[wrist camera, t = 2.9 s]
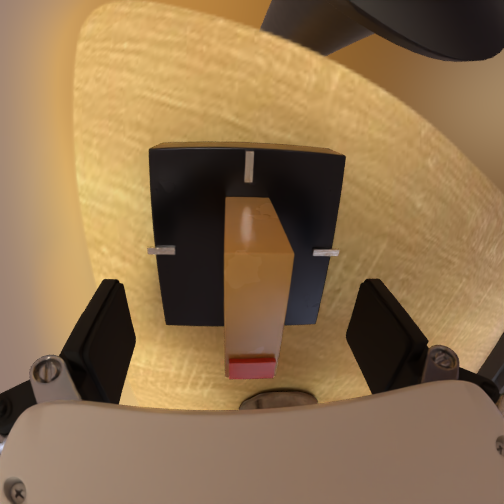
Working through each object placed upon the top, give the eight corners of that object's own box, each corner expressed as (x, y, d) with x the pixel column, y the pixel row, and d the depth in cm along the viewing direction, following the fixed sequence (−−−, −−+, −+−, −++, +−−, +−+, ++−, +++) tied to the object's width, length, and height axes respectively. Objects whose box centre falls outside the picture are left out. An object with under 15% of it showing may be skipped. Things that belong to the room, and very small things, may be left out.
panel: (154, 142, 14) (139, 149, 11) (335, 149, 15) (354, 157, 12) (166, 300, 18) (159, 327, 16) (311, 300, 19) (322, 325, 17)
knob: (225, 196, 13) (224, 257, 8) (269, 197, 13) (296, 257, 8) (224, 296, 15) (225, 382, 10) (261, 296, 16) (276, 381, 10)
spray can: (293, 430, 28) (321, 582, 10) (224, 423, 26) (234, 595, 8) (333, 390, 25) (386, 574, 7) (255, 380, 23) (283, 607, 5)
